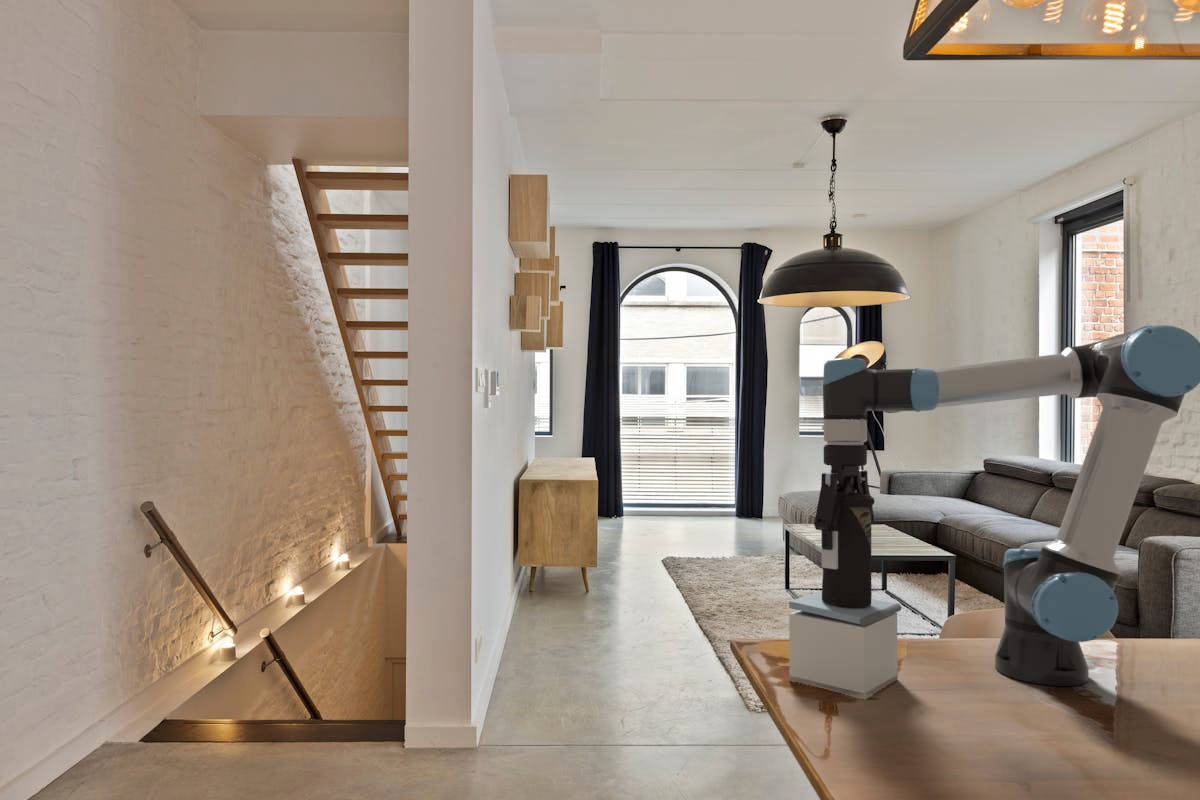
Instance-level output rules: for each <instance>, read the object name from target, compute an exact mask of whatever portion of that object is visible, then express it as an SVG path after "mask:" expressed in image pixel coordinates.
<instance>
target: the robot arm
mask: <svg viewBox="0 0 1200 800" xmlns="http://www.w3.org/2000/svg"><path fill="white" fill-rule="evenodd" d="M1199 384H1200V341H1199V340H1198V338H1196V336H1194V335H1193V334H1191V333H1190V332H1188V331H1187V330H1185V329H1182V328H1180V327H1177V326H1173V325H1165V324H1164V325H1163V324H1159V325H1148V326H1147V325H1146V326H1142V327H1139V328H1137V329H1134V330H1133V331H1129V332H1125V333H1119V334H1117V335H1114V336H1111V337H1108V338H1105V339H1102V340H1099V341H1098V340H1097V341H1095V342H1091V343H1088V344H1083V345H1077V346H1069V347H1065V348H1064V349H1063V350H1062V351H1061V352H1060V353H1056V354H1048V355H1047V354H1046V355H1039V356H1031V357H1023V358H1021V357H1020V358H1012V359H1006V360H997V361H988V362H987V361H986V362H981V363H979V362H978V363H973V364H971V363H970V364H965V365H963V364H962V365H955V366H954V365H953V366H947V367H939V368H931V369H929V368H927V369H926V368H918V367H917V368H916V367H914V368H902V369H900V368H897V369H893V368H892V369H871V368H868V366H867V361H866V359H864V358H859V357H856V358H854V357H853V358H852V357H846V358H845V357H844V358H843V357H840V358H831V359H828V360H827V361H826V362H825V363H824V364H823V379H822V402H823V405H822V407H823V408H822V410H823V425H822V426H821V427H822V428H821V429H822V430H823V441H824V442H826V444H824V446H823V464H825V466H830V472H822V473H821V483H820V485H821V486H820V491H819V497H818V503H817V507H816V512H815V513H816V514H815V518H814V523H813V525H814V528H815V530H816V531H820V532H821V533H820V534H821V535H820V536H821V539H820V540H821V544H820V545H821V546H820V548H821V568H830V569H838V531H835V528H836V524H837V521H838V518H839V515H840V511H841V508H842V505H843V504H842V498H843V497H846V496H847V495H848V494H849V493H850V492H857V493H862V494H867V495H871V493H870V488H869V482H868V470H866V469H860V468H859V467H862V466H863V467H864V466H866V465H867V463H868V451H867V450H868V449H867V448H868V447H867V446H866V445H864V443H866V442H867V441H868V420H867V419H868V418H867V412H868V411H869V412H870V411H871V412H877V411H880V412H881V411H882V412H884V413H888V414H893V413H895V414H896V413H899V412H917V413H918V412H920V413H921V412H927V411H929V412H930V411H934V410H935V409H936V408H944V407H953V406H963V405H973V404H982V403H993V402H994V403H995V402H1001V401H1011V400H1012V401H1013V400H1021V399H1029V398H1030V399H1031V398H1040V397H1051V396H1059V395H1066V396H1068V397H1070V398H1071V399H1072V400H1073V399H1084V398H1096V399H1097V401H1098V402H1099V404H1100V405H1101V408H1102V409H1101V412H1100V415H1099V417H1098V421H1097V424H1096V426H1095V428H1094V431H1093V435H1092V437H1091V440H1090V443H1089V445H1088V448H1087V451H1086V455H1085V458H1084V459H1083V463H1082V465H1081V468H1080V472H1079V473H1078V477H1077V479H1076V482H1075V485H1074V487H1073V490H1072V494H1071V496H1070V499H1069V502H1068V504H1067V507H1066V510H1065V514H1064V516H1063V519H1062V521H1061V524H1060V527H1059V530H1058V532H1057V535H1056V538H1055V539H1054V540H1053V541H1050V542H1048V543H1046V544H1043V545H1042V548H1041V549H1038V548H1037V549H1036V548H1009V549H1007V550H1006V551H1005V552H1004V558H1003V564H1002V567H1003V573H1004V574H1003V578H1004V579H1003V580H1004V581H1003V583H1004V584H1003V585H1004V588H1003V589H1004V591H1003V595H1004V628H1003V632H1002V634H1001V637H1000V640H999V644H998V646H997V649H996V651H995V655H994V668H995V669H996V670H997V671H998V672H999V673H1000V674H1003V675H1005V676H1008V677H1010V678H1012V679H1016V680H1018V681H1019V680H1020V681H1022V682H1027V683H1032V684H1033V683H1034V684H1037V685H1045V686H1047V685H1048V686H1056V687H1057V686H1058V687H1073V686H1082V685H1085V684H1087V683H1088V682H1089V679H1090V677H1089V666H1088V662H1087V661H1086V658H1085V655H1084V652H1083V650H1082V646H1081V643H1083V642H1086V643H1087V642H1090V641H1094V640H1096V639H1100V638H1101V637H1102V636H1104V635H1105V634H1106V633H1108V632H1109V631H1110V630H1111V629H1112V628H1113V627H1114V625H1115V623H1116V621H1117V618H1118V614H1119V603H1118V599H1117V596H1116V594H1115V592H1114V591H1115V588H1116V585H1117V583H1118V580H1119V577H1120V574H1121V571H1120V570H1119V567H1118V566H1117V564H1116V563H1115V559H1114V558H1115V555H1116V552H1117V548H1118V547H1119V544H1120V540H1121V539H1122V535H1123V533H1124V530H1125V528H1126V524H1127V521H1128V518H1129V516H1130V513H1131V510H1132V507H1133V505H1134V502H1135V499H1136V497H1137V494H1138V490H1139V489H1140V485H1141V483H1142V480H1143V477H1144V474H1145V472H1146V468H1147V466H1148V463H1149V461H1150V457H1151V456H1152V455H1151V454H1152V453H1153V450H1154V447H1155V444H1156V441H1157V440H1158V439H1157V438H1158V436H1159V432H1160V430H1161V427H1162V424H1163V423H1164V422H1166V421H1168V420H1169V421H1170V420H1171V419H1173V418H1175V417H1177V416H1178V413H1179V410H1180V408H1181V406H1182V403H1183V400H1184V397H1185V395H1186V394H1188V393H1189V392H1191V391H1193V390H1194V389H1195V388H1197V387H1198V385H1199ZM873 508H874V507H873V506H872V507H871V525H874V522H875V519H874V518H875V515H874V509H873Z"/></svg>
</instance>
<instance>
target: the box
mask: <svg viewBox="0 0 1200 800" xmlns="http://www.w3.org/2000/svg"><path fill="white" fill-rule="evenodd" d="M788 615H789V616H788V618H789V620H788V623H789V624H788V625H789V627H788V628H789V629H788V631H789V632H788V633H789V638H788V640H789V643H788V644H789V646H788V647H789V649H788V650H789V651H788V652H789V653H788V654H789V658H788V659H789V662H788V663H789V667H788V668H789V672H788V673H789V675H788V676H789V677H788V678H789V682H792V683H796V682H798V683H797V684H800V683H804V684H809V685H814V686H819V687H823V688H826V689H829V690H832V691H835V692H839V693H842V694H841V695H843V694H846V695H845V696H847V695H849V696H848V697H851V696H852V698H855V699H860V700H863V699H864V700H863V701H866V700H867V699H869V698H870V697H872V696H874V695H875V694H877V693H878V692H877V691H879V690H880V691H882V690H883V689H882V688H883V687H885V686H887V685H888V684H890V683H892V682H893V683H895V682H897V681H898V680H899V677H898V676H899V674H898V672H899V671H898V670H899V669H898V653H899V652H898V612H896V613H894V614H892V615H889V616H887V617H885V618H883V619H880V620H878V621H876V622H874V623H871V624H869V625H867V626H862V625H861V624H856V623H852V622H848V621H844V620H839V619H835V618H831V617H826V616H822V615H818V614H813V613H809V612H805V611H801V610H796V611H792V612H790V613H789V614H788ZM897 679H898V680H897ZM896 680H897V681H896ZM894 681H895V682H894ZM893 683H892V684H893ZM804 684H803V685H804ZM890 685H891V684H890ZM887 687H888V686H887ZM885 688H886V687H885ZM881 689H882V690H881ZM880 691H879V692H880ZM835 692H834V693H835ZM876 692H877V693H876ZM839 693H838V694H839ZM874 693H875V694H874ZM873 694H874V695H873ZM868 697H869V698H868ZM865 699H866V700H865Z"/></svg>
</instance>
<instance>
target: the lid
mask: <svg viewBox="0 0 1200 800" xmlns="http://www.w3.org/2000/svg"><path fill="white" fill-rule="evenodd" d="M788 603H789V605H788V608H790V609H792V610H796V611H798V610H801V611H805V612H809V613H813V614H818V615H822V616H826V617H831V618H835V619H839V620H844V621H848V622H852V623H856V624H861V625H862V626H867V625H869V624H871V623H874V622H876V621H878V620H880V619H883V618H885V617H887V616H889V615H892V614H894V613H898V612H900V611H901V610H902V605H901V604H900V603H894V602H888V601H884V600H879V599H873V598H871V605H869V606H865V607H849V606H840V605H834V604H830V603H827V602H824V601H823V600H822V590H819V591H816V592H812V593H810V594H807V595H804V596H801V597H798V598H795V599H792V600H789V601H788Z"/></svg>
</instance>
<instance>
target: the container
mask: <svg viewBox="0 0 1200 800" xmlns="http://www.w3.org/2000/svg"><path fill="white" fill-rule="evenodd" d="M842 504H843V505H842V508H841V511H840V515H839V518H838V521H837V524H836V528H835V531H838V569H830V568H823V567H822V568H823V569H822V581H821V582H822V583H821V584H822V585H821V591H822V600H823V601H824V602H827V603H830V604H834V605H840V606H849V607H865V606H869V605H871V599H872V524H871V507H872V508H873V505H874V504H875V498H874V497H872V495H871V494H870V495H867V494H862V493H857V492H850V493H849V494H848V495H847V496H846V497H843V498H842Z"/></svg>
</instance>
